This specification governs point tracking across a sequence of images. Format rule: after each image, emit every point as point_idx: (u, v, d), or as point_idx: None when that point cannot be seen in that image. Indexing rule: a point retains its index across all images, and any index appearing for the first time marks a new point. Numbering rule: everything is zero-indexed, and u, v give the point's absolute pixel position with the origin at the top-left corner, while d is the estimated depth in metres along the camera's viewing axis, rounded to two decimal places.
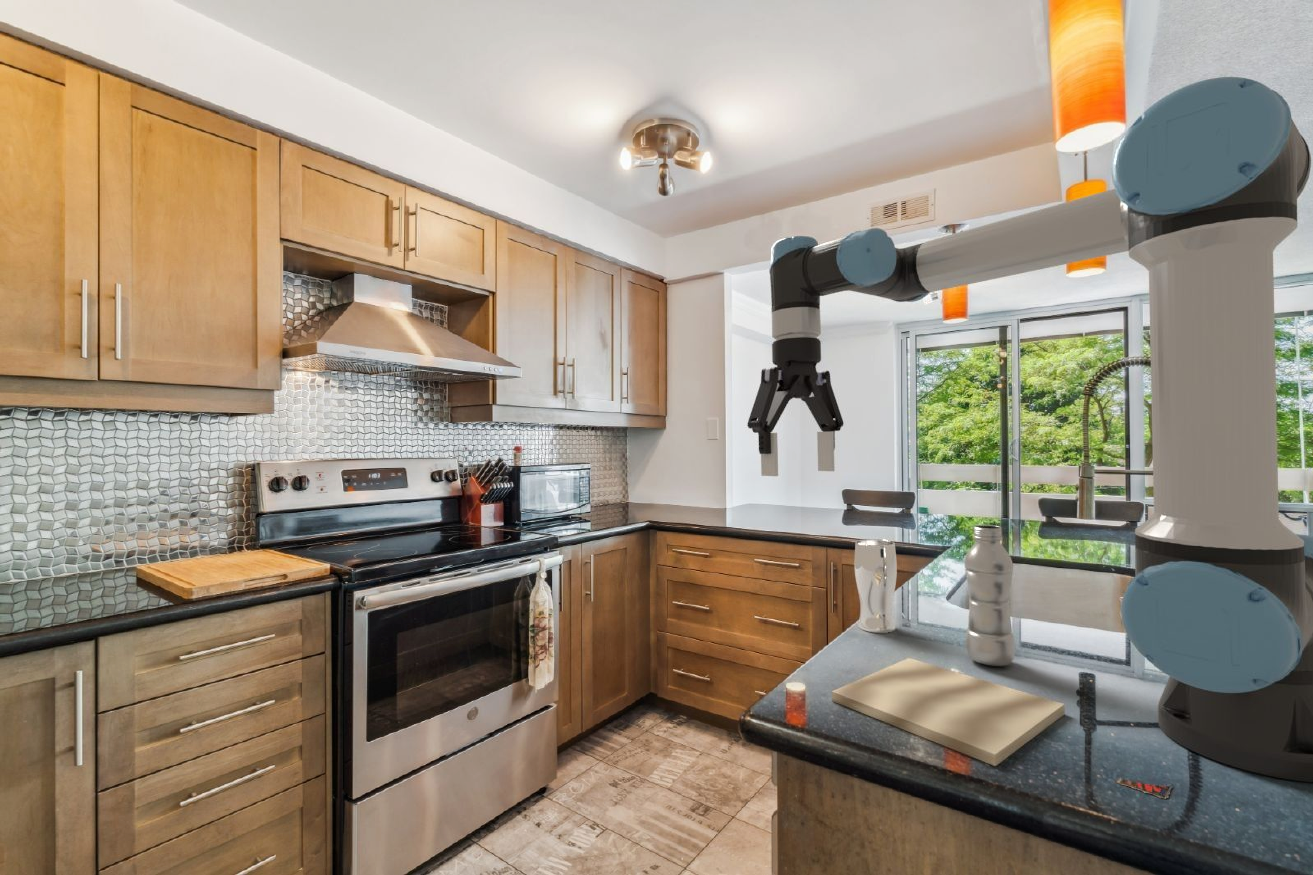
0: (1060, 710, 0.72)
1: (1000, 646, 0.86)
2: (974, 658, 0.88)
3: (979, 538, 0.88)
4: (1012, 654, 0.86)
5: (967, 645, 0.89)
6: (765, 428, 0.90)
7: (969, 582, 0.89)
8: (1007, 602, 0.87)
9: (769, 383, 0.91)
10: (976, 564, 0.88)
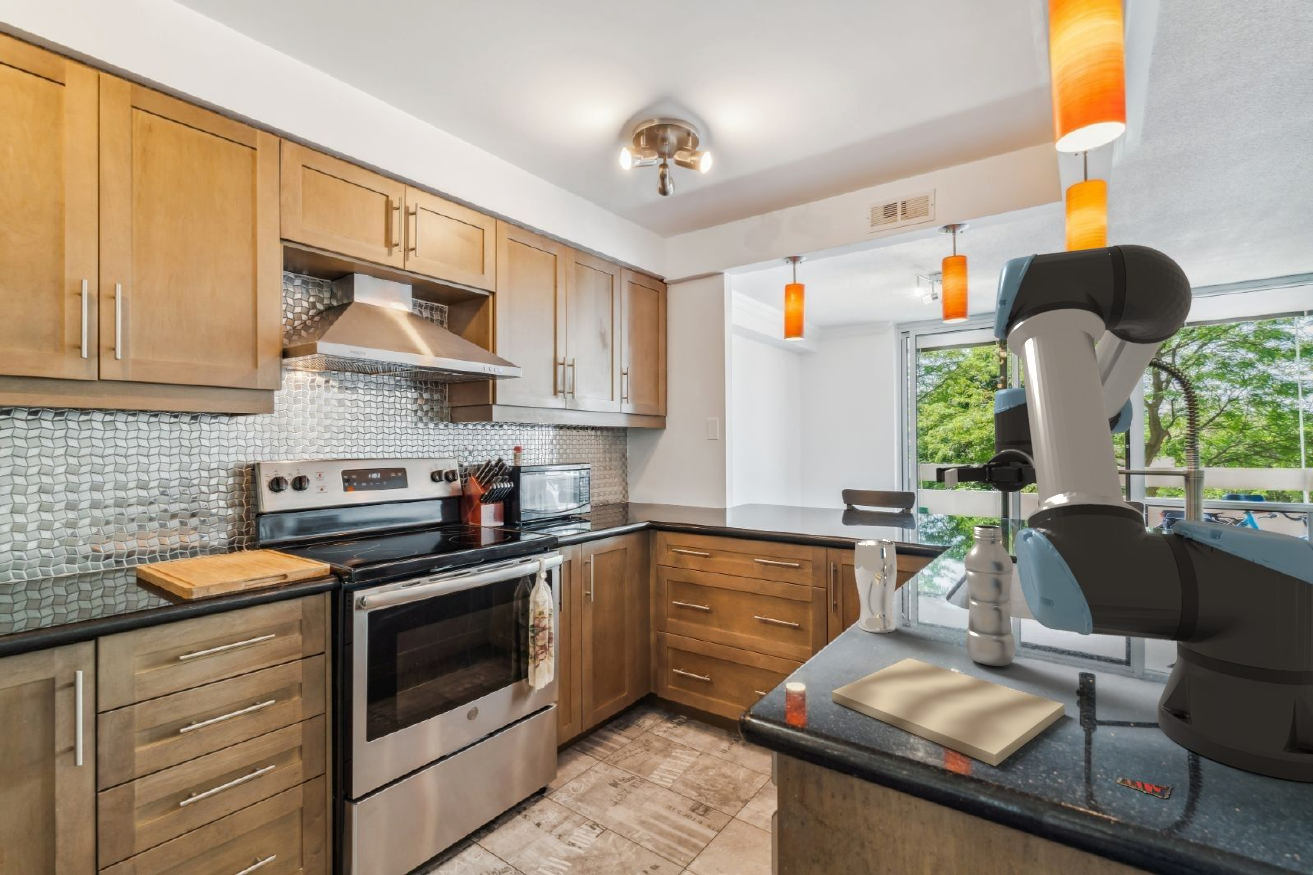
0: (1060, 710, 0.72)
1: (1000, 646, 0.86)
2: (974, 658, 0.88)
3: (979, 538, 0.88)
4: (1012, 654, 0.86)
5: (967, 645, 0.89)
6: (945, 471, 1.07)
7: (969, 582, 0.89)
8: (1007, 602, 0.87)
9: None
10: (976, 564, 0.88)
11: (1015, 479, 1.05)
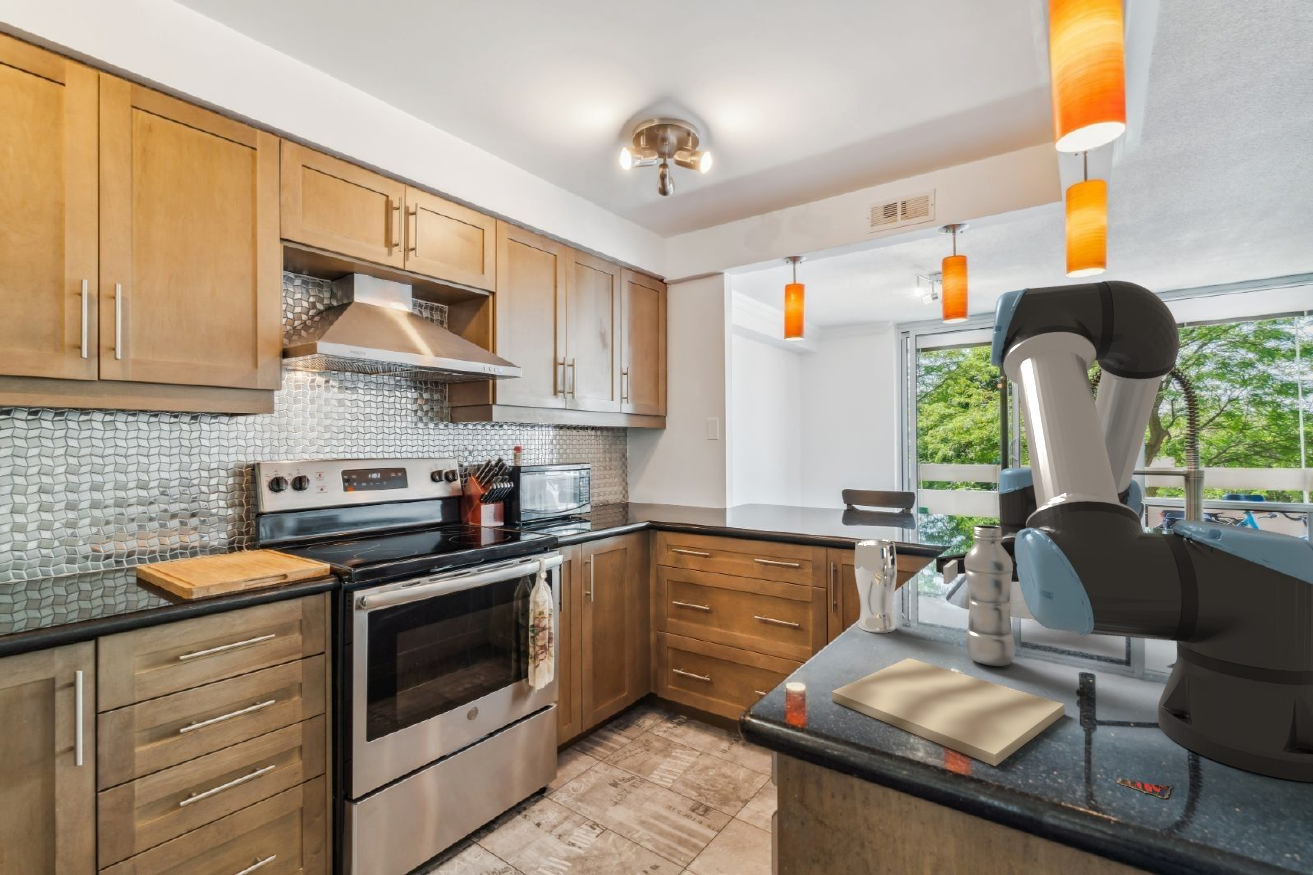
0: (1060, 710, 0.72)
1: (1000, 646, 0.86)
2: (974, 658, 0.88)
3: (979, 538, 0.88)
4: (1012, 654, 0.86)
5: (967, 645, 0.89)
6: (945, 561, 1.05)
7: (969, 582, 0.89)
8: (1007, 602, 0.87)
9: None
10: (975, 564, 0.88)
11: None
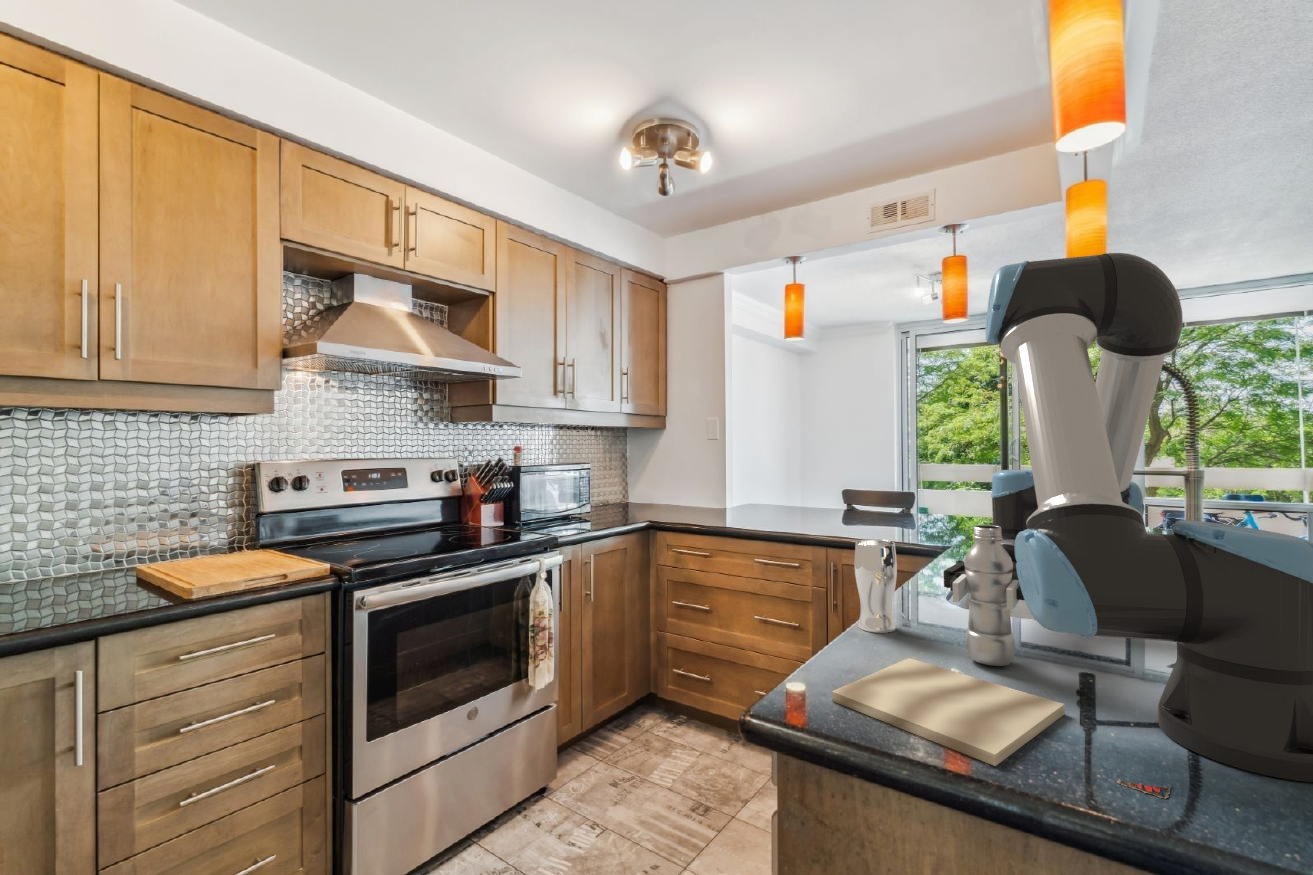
0: (1060, 710, 0.72)
1: (1000, 646, 0.86)
2: (974, 658, 0.88)
3: (979, 538, 0.88)
4: (1012, 654, 0.86)
5: (967, 645, 0.89)
6: (954, 575, 0.94)
7: (969, 582, 0.89)
8: None
9: None
10: (975, 564, 0.88)
11: None
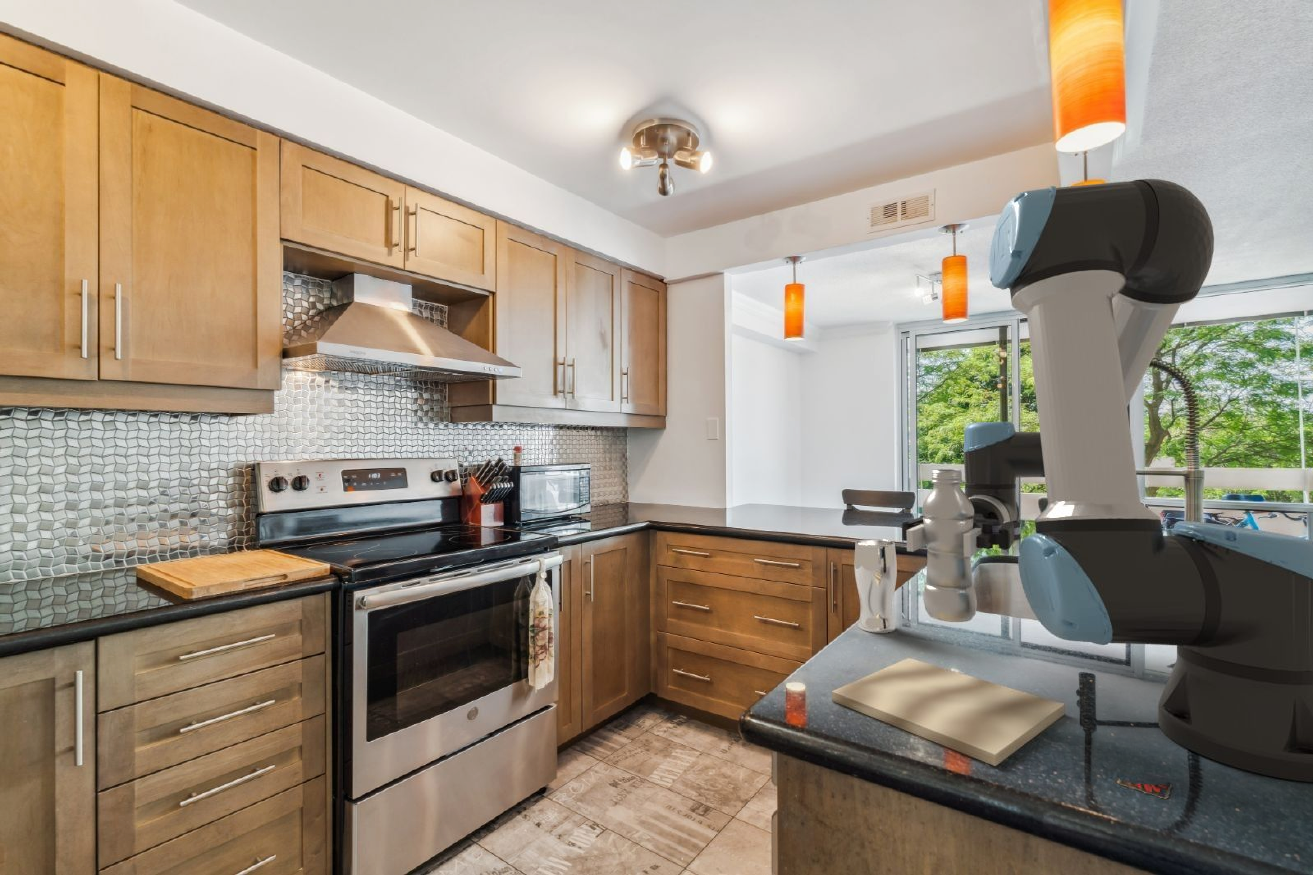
0: (1060, 710, 0.72)
1: (958, 600, 0.78)
2: (931, 614, 0.80)
3: (936, 482, 0.80)
4: (972, 609, 0.78)
5: (924, 600, 0.81)
6: (913, 527, 0.85)
7: (926, 531, 0.81)
8: None
9: None
10: (932, 510, 0.79)
11: None
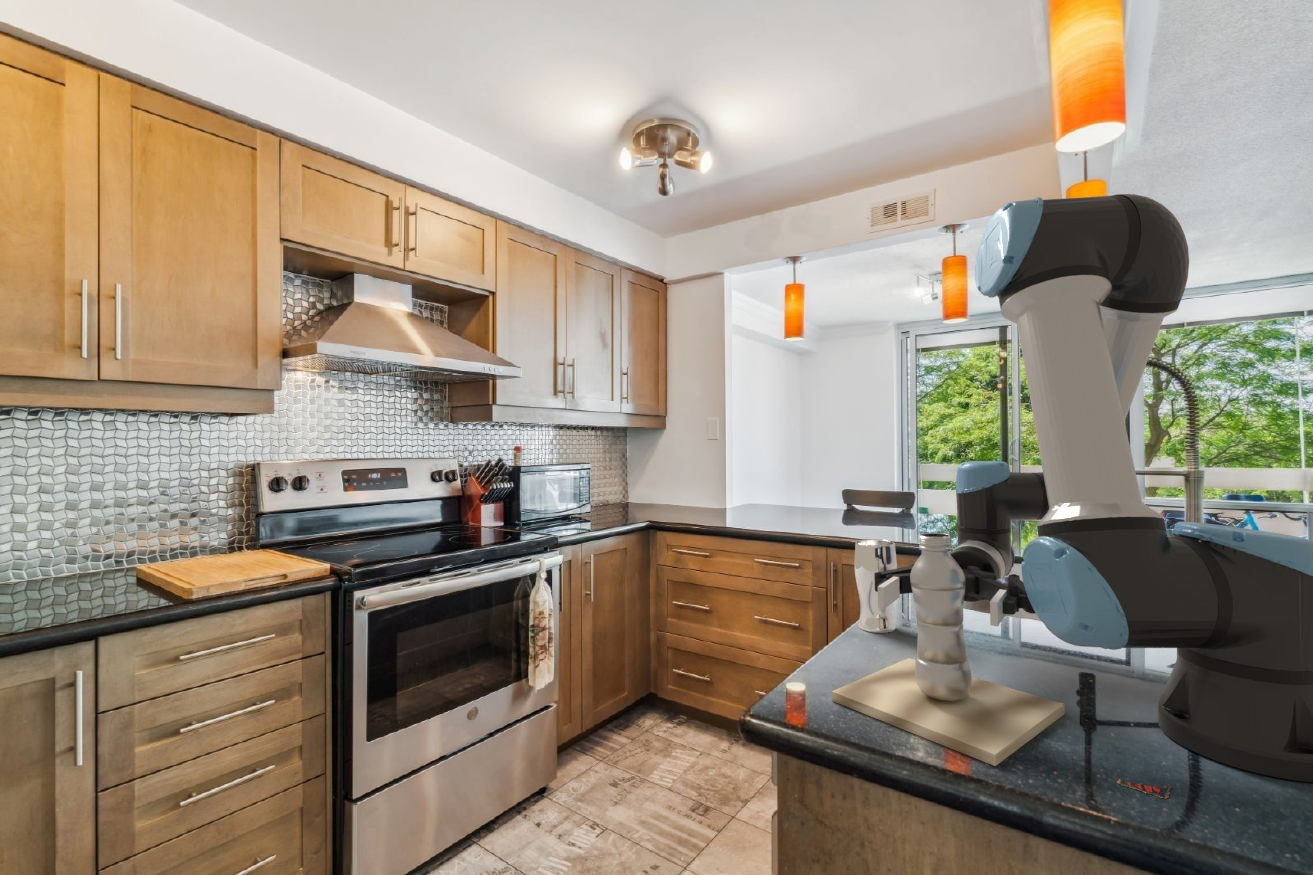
0: (1060, 710, 0.72)
1: (952, 677, 0.72)
2: (924, 691, 0.74)
3: (925, 548, 0.75)
4: (967, 686, 0.73)
5: (916, 676, 0.76)
6: (885, 578, 0.83)
7: (915, 601, 0.76)
8: (959, 624, 0.74)
9: None
10: (921, 580, 0.74)
11: (972, 591, 0.81)
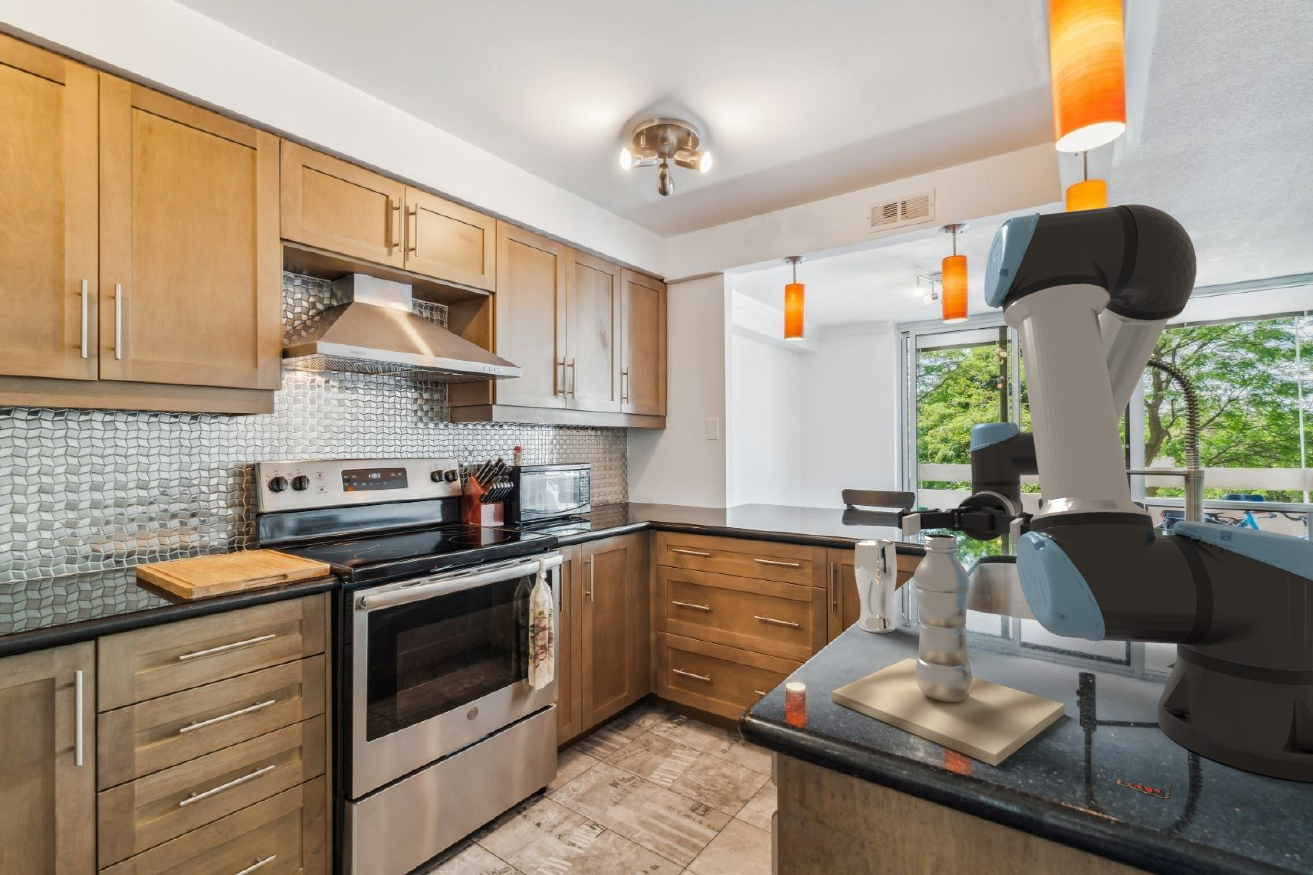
0: (1060, 710, 0.72)
1: (953, 679, 0.72)
2: (924, 692, 0.74)
3: (930, 550, 0.74)
4: (968, 688, 0.73)
5: (916, 676, 0.76)
6: (908, 516, 0.95)
7: (919, 601, 0.75)
8: (962, 626, 0.73)
9: None
10: (925, 581, 0.74)
11: (987, 527, 0.92)
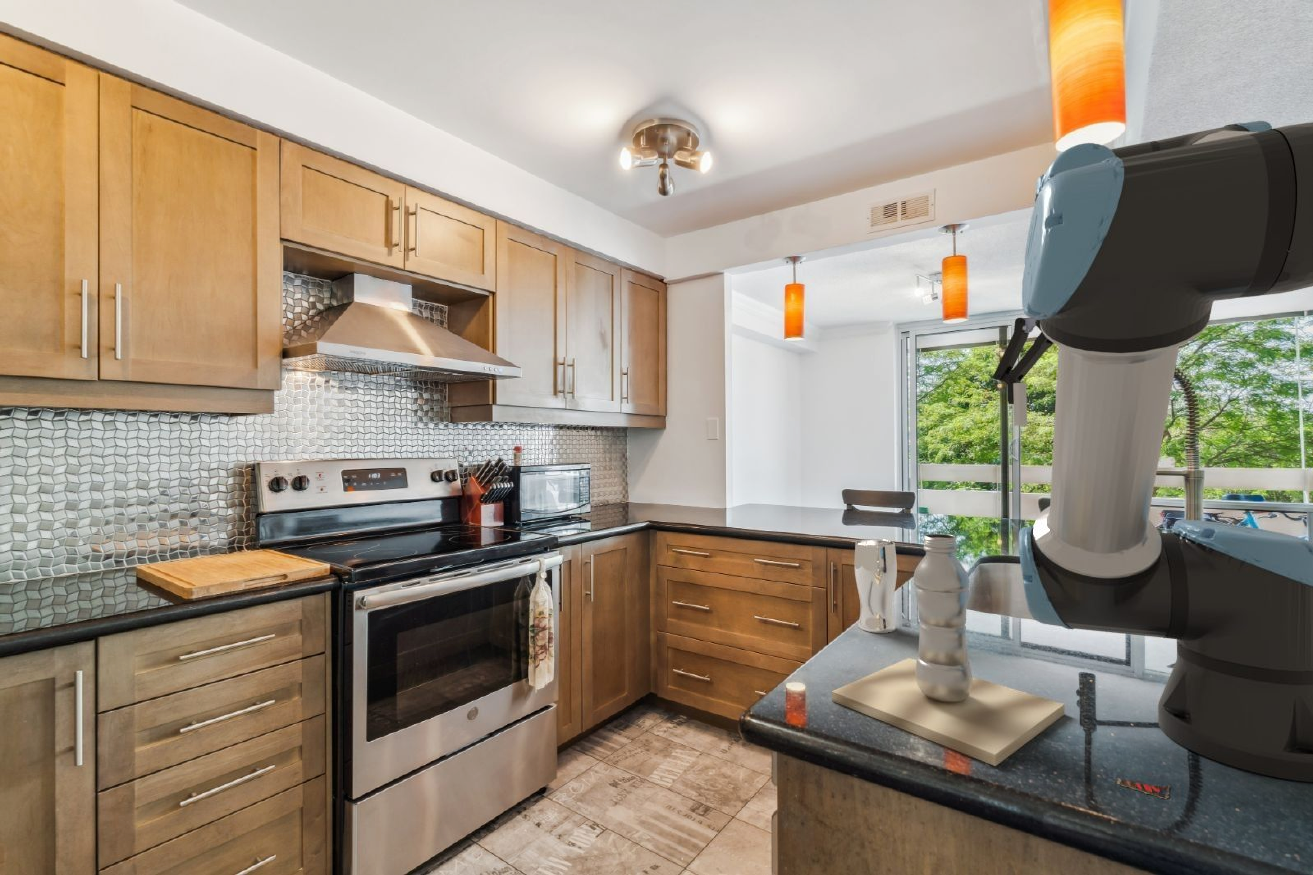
0: (1060, 710, 0.72)
1: (953, 678, 0.72)
2: (924, 692, 0.74)
3: (929, 550, 0.74)
4: (968, 688, 0.73)
5: (916, 676, 0.76)
6: (1006, 379, 0.94)
7: (918, 601, 0.75)
8: (962, 626, 0.73)
9: None
10: (925, 581, 0.74)
11: None
